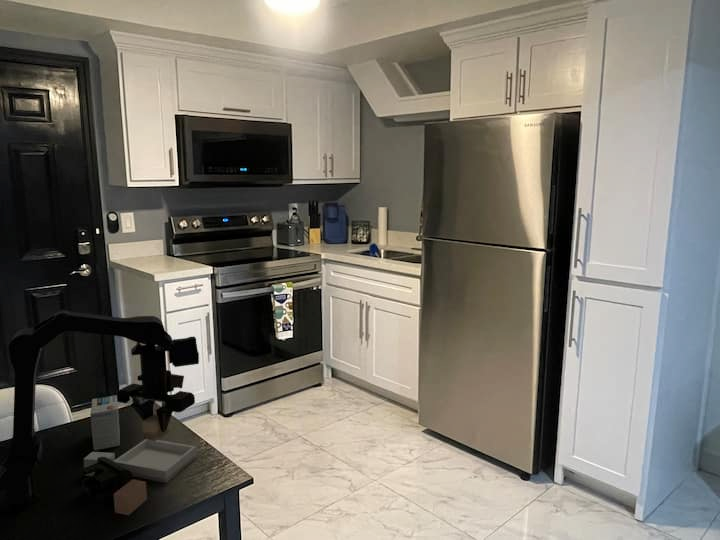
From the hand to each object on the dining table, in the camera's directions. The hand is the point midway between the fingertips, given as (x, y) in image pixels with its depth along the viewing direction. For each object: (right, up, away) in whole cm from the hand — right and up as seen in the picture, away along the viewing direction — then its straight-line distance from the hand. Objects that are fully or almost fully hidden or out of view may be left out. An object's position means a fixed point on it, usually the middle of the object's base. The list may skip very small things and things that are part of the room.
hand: (157, 430), depth 129 cm
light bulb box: (-21, -9, +19) cm, 30 cm away
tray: (-2, -10, +5) cm, 12 cm away
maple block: (0, -1, 0) cm, 1 cm away
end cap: (-9, -13, -6) cm, 17 cm away
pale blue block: (-15, -11, +2) cm, 19 cm away
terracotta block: (-1, -14, -11) cm, 18 cm away
